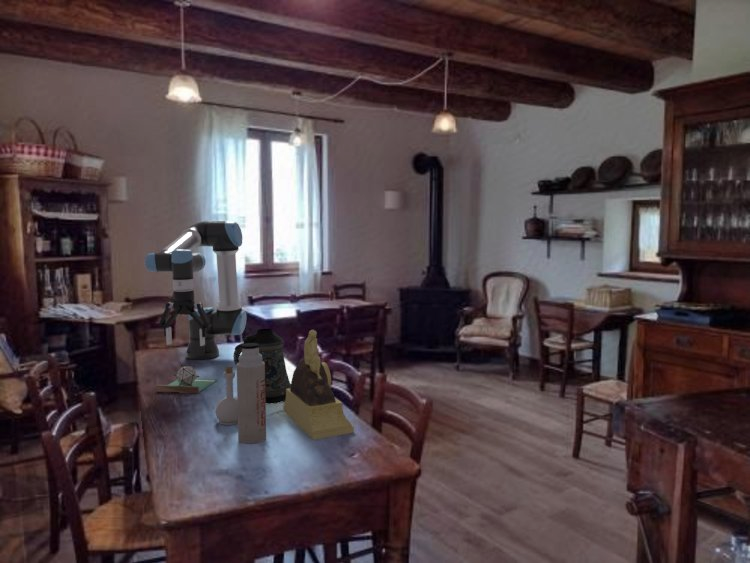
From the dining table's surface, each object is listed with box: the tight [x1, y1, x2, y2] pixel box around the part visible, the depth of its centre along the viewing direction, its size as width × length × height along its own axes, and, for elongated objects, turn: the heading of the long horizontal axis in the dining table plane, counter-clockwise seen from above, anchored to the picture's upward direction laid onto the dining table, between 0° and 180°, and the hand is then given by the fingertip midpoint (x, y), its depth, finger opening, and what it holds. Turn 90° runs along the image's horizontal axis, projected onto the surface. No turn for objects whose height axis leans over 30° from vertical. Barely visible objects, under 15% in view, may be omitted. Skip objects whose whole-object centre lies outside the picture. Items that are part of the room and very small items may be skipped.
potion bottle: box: [214, 366, 238, 426], centre depth 176 cm, size 9×9×18 cm
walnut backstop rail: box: [156, 384, 200, 395], centre depth 208 cm, size 1×16×2 cm, turn 82°
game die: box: [173, 364, 200, 386], centre depth 215 cm, size 9×8×10 cm
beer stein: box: [233, 328, 291, 405], centre depth 200 cm, size 16×19×25 cm
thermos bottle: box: [236, 343, 267, 444], centre depth 161 cm, size 8×8×28 cm
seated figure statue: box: [283, 329, 355, 441], centre depth 176 cm, size 28×13×30 cm, turn 27°
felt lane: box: [168, 378, 218, 393], centre depth 217 cm, size 17×16×1 cm
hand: (185, 344), depth 214 cm, fingers open, 13 cm apart
